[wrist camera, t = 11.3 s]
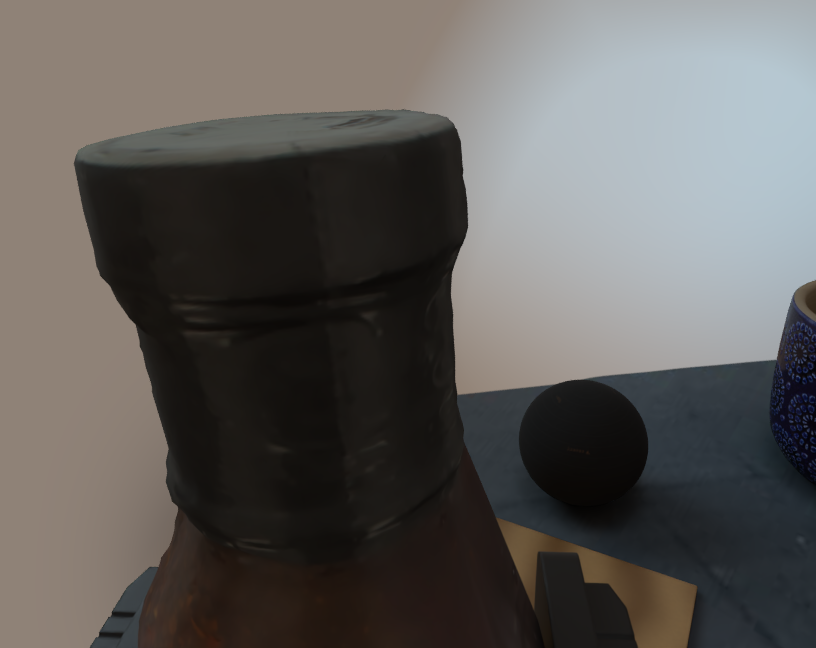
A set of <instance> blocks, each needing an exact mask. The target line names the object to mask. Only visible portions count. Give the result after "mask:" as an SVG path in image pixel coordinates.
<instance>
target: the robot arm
mask: <svg viewBox="0 0 816 648" xmlns="http://www.w3.org/2000/svg"><path fill="white" fill-rule="evenodd" d="M157 570H158V567H149V568H148V569H147V570H146V571H145V572H144V573H143V574H142V575H140V576H139V577H138V578H137V579H136V580H135V581H134V582H133V583H131V584H130V585H129V586H128V587H127V588H126V590H125V591H124V593H123V595H122V596H121V598H120V600H119V601H118V603H117V604H116V606H115V608H114V609H113V611H112V615H111V617H108V619H107V621H106V622H105V624H104V625H103V627H102V629H101V630H100V632H99V637H96V638H95V640H94V642H93V643H92V645H91V646H90V648H138V630H139V619H140V615H141V612H142V608H143V603H144V599H145V597H146V595H147V592H148V590H149V588H150V586H151V584H152V581H153V579H154V577H155V574H156V572H157ZM534 612H535V614H536V617H537V619H538V622H539V626H540V630H541V634H542V638H543V642H544V646H545V648H638V645H637V642H636V640H635V637H634V636H635V635H634V631H633V628H632V624H631V621H630V617H629V614H628V610H627V607H626V606H625V605H624V603H623V602H622V601H621V599H620V598H619V597H618V595H617V594H616V593H615V591H614V590H613V589H612V587H611V586H610V585H609V584H608V583H585V581H584V576H583V572H582V567H581V563H580V559H579V555H578V553H576V552H543V551H538V554H537V567H536V585H535V603H534Z"/></svg>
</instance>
